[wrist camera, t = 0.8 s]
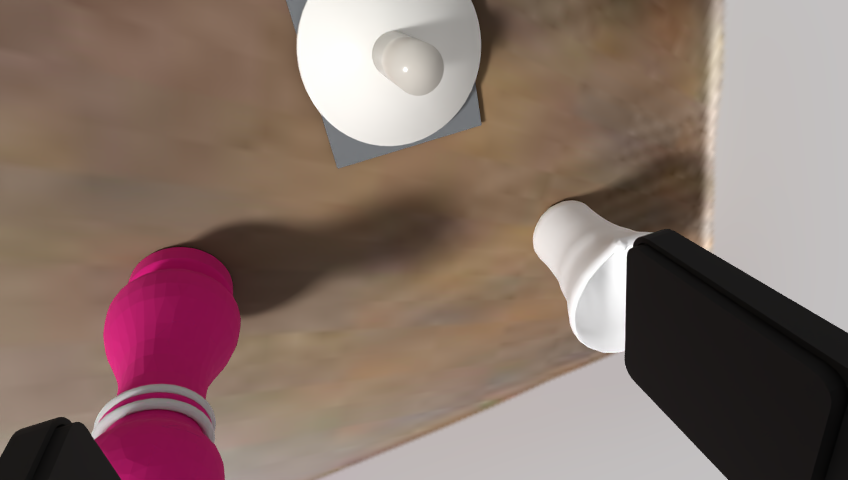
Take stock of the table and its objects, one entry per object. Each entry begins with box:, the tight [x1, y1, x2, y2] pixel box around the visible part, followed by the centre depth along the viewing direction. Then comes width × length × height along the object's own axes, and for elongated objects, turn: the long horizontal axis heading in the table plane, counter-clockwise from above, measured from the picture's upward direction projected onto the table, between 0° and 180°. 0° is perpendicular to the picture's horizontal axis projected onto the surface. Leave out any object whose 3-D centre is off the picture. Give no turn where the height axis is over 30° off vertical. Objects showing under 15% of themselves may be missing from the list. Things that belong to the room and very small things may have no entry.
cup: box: [533, 200, 654, 353], centre depth 38 cm, size 9×9×10 cm
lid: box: [296, 0, 481, 146], centre depth 29 cm, size 11×11×6 cm
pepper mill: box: [91, 247, 241, 480], centre depth 26 cm, size 7×7×20 cm
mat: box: [286, 0, 481, 168], centre depth 32 cm, size 12×10×1 cm
